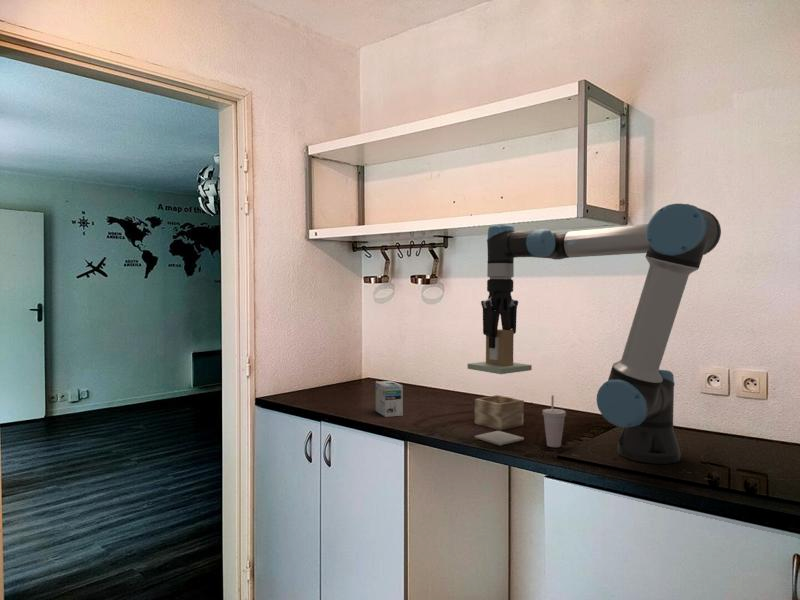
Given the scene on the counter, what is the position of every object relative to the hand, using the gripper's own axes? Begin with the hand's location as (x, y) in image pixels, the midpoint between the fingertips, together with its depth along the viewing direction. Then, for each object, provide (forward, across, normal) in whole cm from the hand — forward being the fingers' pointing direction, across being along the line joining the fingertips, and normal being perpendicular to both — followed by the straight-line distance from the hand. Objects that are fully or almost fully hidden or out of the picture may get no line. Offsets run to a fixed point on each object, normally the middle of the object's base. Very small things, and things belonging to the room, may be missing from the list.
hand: (499, 358), depth 164 cm
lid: (+3, 0, 0) cm, 3 cm away
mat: (+23, 0, 0) cm, 23 cm away
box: (+23, -13, -12) cm, 29 cm away
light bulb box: (+24, +6, -46) cm, 52 cm away
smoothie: (+24, -7, +14) cm, 28 cm away
